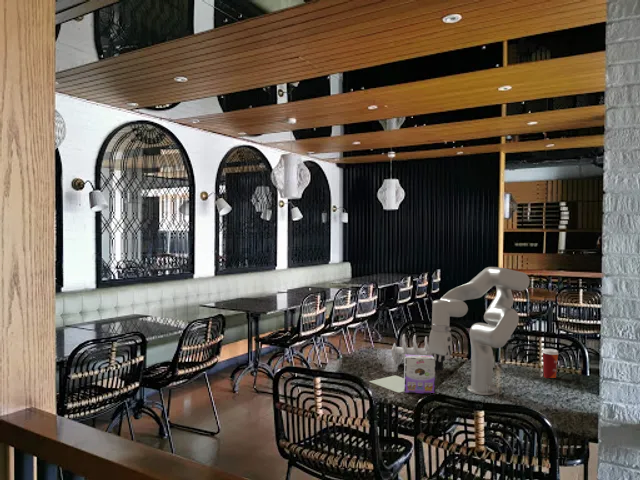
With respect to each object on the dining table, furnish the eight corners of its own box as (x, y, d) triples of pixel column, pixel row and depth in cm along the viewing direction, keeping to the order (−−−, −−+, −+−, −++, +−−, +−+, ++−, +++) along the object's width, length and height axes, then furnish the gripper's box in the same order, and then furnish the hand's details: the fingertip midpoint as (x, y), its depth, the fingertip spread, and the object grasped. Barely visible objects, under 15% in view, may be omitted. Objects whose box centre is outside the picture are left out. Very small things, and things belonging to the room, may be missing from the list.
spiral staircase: (395, 370, 275) (441, 372, 266) (388, 363, 260) (436, 366, 251) (397, 337, 282) (442, 339, 273) (391, 329, 268) (437, 331, 258)
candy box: (433, 390, 228) (434, 355, 227) (434, 394, 222) (436, 358, 221) (403, 388, 229) (404, 353, 229) (404, 392, 223) (405, 357, 223)
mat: (425, 386, 234) (425, 385, 234) (398, 393, 223) (398, 392, 223) (395, 375, 250) (395, 375, 250) (369, 381, 239) (369, 381, 239)
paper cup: (559, 380, 246) (559, 352, 246) (542, 378, 248) (543, 351, 248) (557, 376, 253) (557, 349, 253) (540, 374, 256) (541, 347, 256)
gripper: (459, 330, 212) (458, 372, 212) (432, 324, 224) (431, 364, 224) (448, 332, 207) (447, 375, 207) (421, 326, 219) (420, 367, 219)
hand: (439, 369), depth 216 cm, fingers closed
